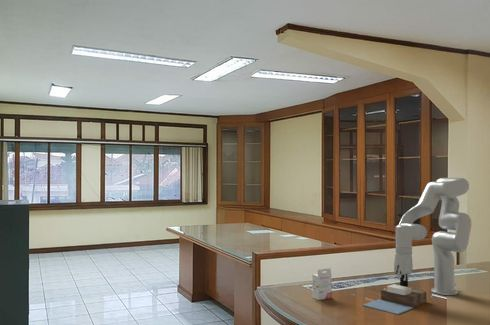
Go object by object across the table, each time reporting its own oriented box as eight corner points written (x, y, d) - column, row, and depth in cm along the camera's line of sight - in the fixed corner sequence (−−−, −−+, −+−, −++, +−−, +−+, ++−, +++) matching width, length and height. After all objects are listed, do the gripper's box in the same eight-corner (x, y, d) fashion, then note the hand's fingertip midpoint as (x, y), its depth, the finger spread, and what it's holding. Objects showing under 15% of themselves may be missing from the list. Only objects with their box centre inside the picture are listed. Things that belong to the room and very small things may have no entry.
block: (393, 289, 216) (393, 284, 216) (411, 293, 209) (411, 287, 209) (387, 291, 212) (387, 286, 212) (404, 295, 205) (404, 289, 205)
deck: (395, 295, 224) (395, 285, 224) (426, 301, 212) (426, 291, 212) (381, 300, 214) (380, 290, 215) (412, 307, 202) (411, 296, 203)
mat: (378, 300, 215) (378, 299, 215) (413, 308, 201) (413, 307, 201) (362, 305, 206) (362, 304, 206) (397, 314, 192) (397, 313, 192)
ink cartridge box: (325, 295, 223) (325, 266, 224) (332, 298, 219) (331, 268, 219) (312, 297, 219) (311, 268, 220) (318, 300, 215) (317, 269, 215)
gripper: (404, 247, 222) (404, 284, 221) (388, 251, 212) (388, 289, 212) (418, 249, 216) (418, 287, 216) (403, 253, 207) (403, 292, 206)
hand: (404, 288), depth 214 cm, fingers closed
